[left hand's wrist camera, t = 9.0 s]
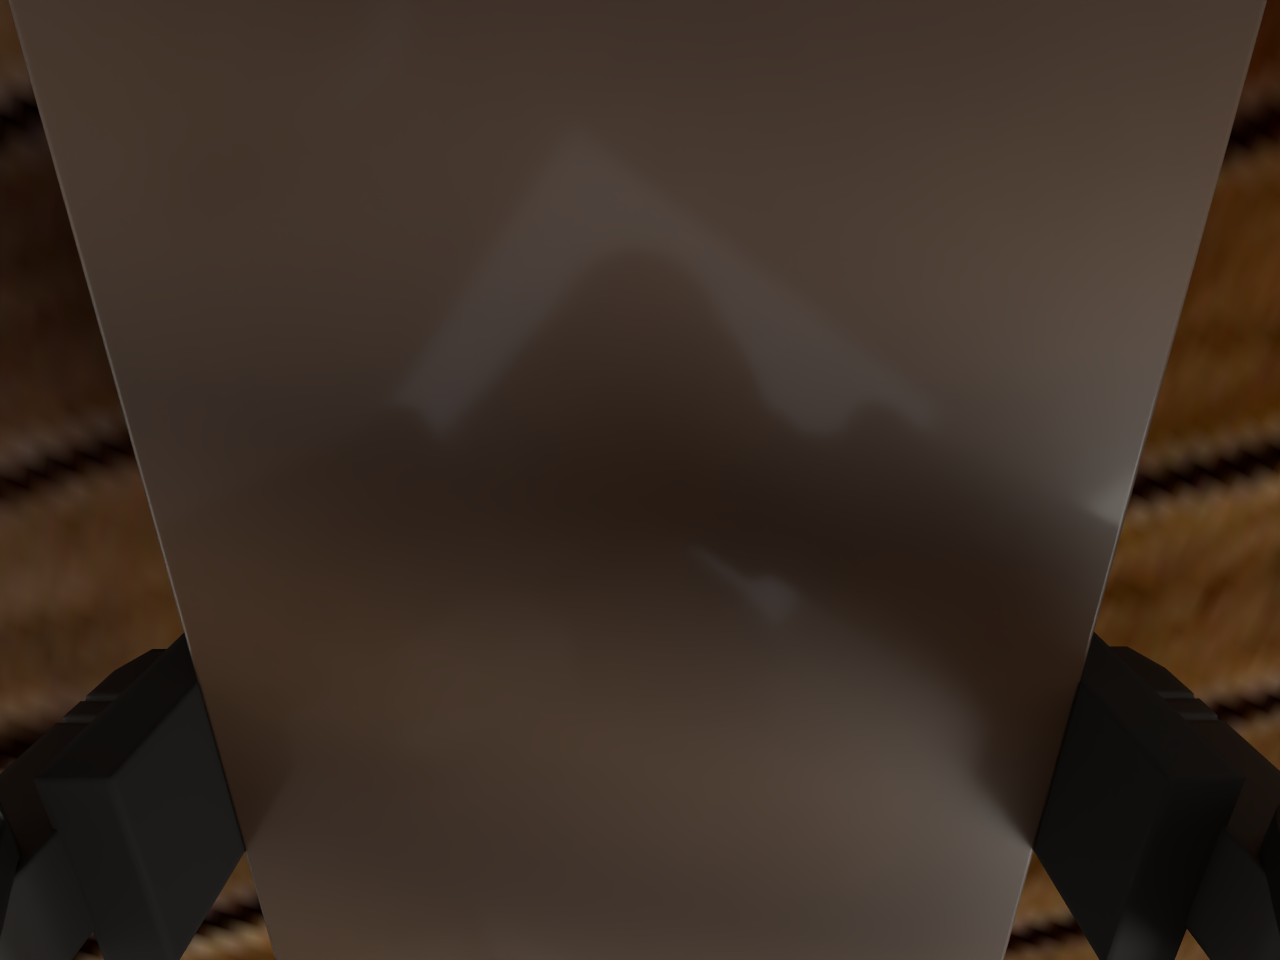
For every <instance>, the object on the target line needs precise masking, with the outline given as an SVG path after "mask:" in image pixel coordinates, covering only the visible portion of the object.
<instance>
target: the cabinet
mask: <svg viewBox="0 0 1280 960" xmlns="http://www.w3.org/2000/svg"><path fill="white" fill-rule="evenodd" d="M8 2H9V6H10V9H11V13H12V17H13V20H14V24H15V27H16V31H17V35H18V38H19V42H20V45H21V49H22V52H23V56H24V60H25V63H26V67H27V70H28V74H29V78H30V81H31V85H32V88H33V92H34V95H35V99H36V103H37V106H38V110H39V113H40V117H41V121H42V124H43V128H44V131H45V135H46V138H47V142H48V146H49V149H50V153H51V156H52V160H53V164H54V167H55V171H56V174H57V178H58V181H59V185H60V189H61V192H62V196H63V199H64V203H65V207H66V210H67V214H68V217H69V221H70V224H71V228H72V232H73V235H74V239H75V242H76V246H77V250H78V253H79V257H80V260H81V264H82V267H83V271H84V275H85V278H86V282H87V285H88V289H89V293H90V296H91V300H92V303H93V307H94V311H95V314H96V318H97V321H98V325H99V328H100V332H101V336H102V339H103V343H104V346H105V350H106V354H107V357H108V361H109V364H110V368H111V371H112V375H113V379H114V382H115V386H116V389H117V393H118V397H119V400H120V404H121V407H122V411H123V414H124V418H125V422H126V425H127V429H128V432H129V436H130V440H131V443H132V447H133V450H134V454H135V457H136V461H137V465H138V468H139V472H140V475H141V479H142V483H143V486H144V490H145V493H146V497H147V500H148V504H149V508H150V511H151V515H152V518H153V522H154V526H155V529H156V533H157V536H158V540H159V544H160V547H161V551H162V554H163V558H164V561H165V565H166V569H167V572H168V576H169V579H170V583H171V587H172V590H173V594H174V597H175V601H176V604H177V608H178V612H179V615H180V619H181V622H182V626H183V630H184V633H185V637H186V640H187V644H188V647H189V651H190V655H191V658H192V662H193V665H194V669H195V673H196V676H197V680H198V683H199V687H200V690H201V694H202V698H203V701H204V705H205V708H206V712H207V716H208V719H209V723H210V726H211V730H212V733H213V737H214V741H215V744H216V748H217V751H218V755H219V759H220V762H221V766H222V769H223V773H224V776H225V780H226V784H227V787H228V791H229V794H230V798H231V802H232V805H233V809H234V812H235V816H236V820H237V823H238V827H239V830H240V834H241V837H242V841H243V845H244V848H245V852H246V855H247V859H248V863H249V866H250V870H251V873H252V877H253V880H254V884H255V888H256V891H257V895H258V898H259V902H260V906H261V909H262V913H263V916H264V920H265V923H266V927H267V931H268V934H269V938H270V941H271V945H272V949H273V952H274V956H275V959H276V960H1004V956H1005V952H1006V949H1007V945H1008V942H1009V938H1010V934H1011V931H1012V927H1013V923H1014V920H1015V916H1016V912H1017V909H1018V905H1019V901H1020V898H1021V894H1022V891H1023V887H1024V883H1025V880H1026V876H1027V872H1028V869H1029V865H1030V861H1031V858H1032V854H1033V850H1034V847H1035V843H1036V840H1037V836H1038V832H1039V829H1040V825H1041V821H1042V818H1043V814H1044V810H1045V807H1046V803H1047V800H1048V796H1049V792H1050V789H1051V785H1052V781H1053V778H1054V774H1055V770H1056V767H1057V763H1058V759H1059V756H1060V752H1061V749H1062V745H1063V741H1064V738H1065V734H1066V730H1067V727H1068V723H1069V719H1070V716H1071V712H1072V708H1073V705H1074V701H1075V698H1076V694H1077V690H1078V687H1079V683H1080V679H1081V676H1082V672H1083V668H1084V665H1085V661H1086V658H1087V654H1088V650H1089V647H1090V643H1091V639H1092V636H1093V632H1094V628H1095V625H1096V621H1097V617H1098V614H1099V610H1100V607H1101V603H1102V599H1103V596H1104V592H1105V588H1106V585H1107V581H1108V577H1109V574H1110V570H1111V566H1112V563H1113V559H1114V556H1115V552H1116V548H1117V545H1118V541H1119V537H1120V534H1121V530H1122V526H1123V523H1124V519H1125V516H1126V512H1127V508H1128V505H1129V501H1130V497H1131V494H1132V490H1133V486H1134V483H1135V479H1136V475H1137V472H1138V468H1139V465H1140V461H1141V457H1142V454H1143V450H1144V446H1145V443H1146V439H1147V435H1148V432H1149V428H1150V424H1151V421H1152V417H1153V414H1154V410H1155V406H1156V403H1157V399H1158V395H1159V392H1160V388H1161V384H1162V381H1163V377H1164V373H1165V370H1166V366H1167V363H1168V359H1169V355H1170V352H1171V348H1172V344H1173V341H1174V337H1175V333H1176V330H1177V326H1178V323H1179V319H1180V315H1181V312H1182V308H1183V304H1184V301H1185V297H1186V293H1187V290H1188V286H1189V282H1190V279H1191V275H1192V272H1193V268H1194V264H1195V261H1196V257H1197V253H1198V250H1199V246H1200V242H1201V239H1202V235H1203V231H1204V228H1205V224H1206V221H1207V217H1208V213H1209V210H1210V206H1211V202H1212V199H1213V195H1214V191H1215V188H1216V184H1217V181H1218V177H1219V173H1220V170H1221V166H1222V162H1223V159H1224V155H1225V151H1226V148H1227V144H1228V140H1229V137H1230V133H1231V130H1232V126H1233V122H1234V119H1235V115H1236V111H1237V108H1238V104H1239V100H1240V97H1241V93H1242V89H1243V86H1244V82H1245V79H1246V75H1247V71H1248V68H1249V64H1250V60H1251V57H1252V53H1253V49H1254V46H1255V42H1256V38H1257V35H1258V31H1259V28H1260V24H1261V20H1262V17H1263V13H1264V9H1265V6H1266V2H1267V0H8Z"/></svg>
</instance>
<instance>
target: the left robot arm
mask: <svg viewBox="0 0 1280 960" xmlns="http://www.w3.org/2000/svg"><path fill="white" fill-rule="evenodd" d="M1193 694H1194V693H1192V692H1191V691H1190V690H1189V689H1188V688H1187V687H1186V686H1185V685H1183V684H1182V683H1181V682H1180V681H1179V680H1178V679H1177V678H1176V677H1175V676H1173V675H1172V674H1171V673H1170V672H1169V671H1168V670H1167V669H1166V668H1164V667H1162V666H1161V665H1159V664H1157V663H1155V662H1154V661H1152V660H1150V659H1148V658H1146V657H1145V656H1143V655H1141V654H1139V653H1138V652H1136V651H1134V650H1132V649H1131V648H1129V647H1109V646H1108V645H1107V644H1106V643H1105V642H1104V641H1103V640H1102V639H1101V638H1100V637H1099V636H1098V635H1097V634H1096V633H1095V632H1093V636H1092V639H1091V643H1090V647H1089V650H1088V654H1087V658H1086V661H1085V665H1084V668H1083V672H1082V676H1081V679H1080V683H1079V687H1078V690H1077V694H1076V698H1075V701H1074V705H1073V708H1072V712H1071V716H1070V719H1069V723H1068V727H1067V730H1066V734H1065V738H1064V741H1063V745H1062V749H1061V752H1060V756H1059V759H1058V763H1057V767H1056V770H1055V774H1054V778H1053V781H1052V785H1051V789H1050V792H1049V796H1048V800H1047V803H1046V807H1045V810H1044V814H1043V818H1042V821H1041V825H1040V829H1039V832H1038V836H1037V840H1036V843H1035V847H1034V852H1035V853H1036V855H1037V857H1038V858H1039V860H1040V862H1041V863H1042V865H1043V867H1044V868H1045V870H1046V872H1047V873H1048V875H1049V877H1050V878H1051V880H1052V882H1053V883H1054V885H1055V887H1056V888H1057V890H1058V891H1059V893H1060V895H1061V896H1062V898H1063V900H1064V901H1065V903H1066V905H1067V906H1068V908H1069V910H1070V911H1071V913H1072V915H1073V916H1074V918H1075V920H1076V921H1077V923H1078V925H1079V926H1080V928H1081V930H1082V931H1083V933H1084V935H1085V936H1086V938H1087V940H1088V941H1089V943H1090V945H1091V946H1092V948H1093V950H1094V951H1095V953H1096V955H1097V956H1098V958H1099V960H1175V957H1176V955H1177V952H1178V950H1179V947H1180V945H1181V942H1182V939H1183V937H1184V934H1185V932H1186V929H1188V930H1189V932H1190V933H1191V934H1192V936H1193V937H1194V938H1195V940H1196V941H1197V943H1198V944H1199V945H1200V947H1201V948H1202V949H1203V951H1204V952H1205V953H1206V955H1207V956H1208V957H1209V959H1210V960H1280V771H1279V770H1278V769H1277V768H1276V767H1275V766H1274V765H1273V764H1271V763H1270V762H1269V761H1268V760H1267V759H1266V758H1265V757H1264V756H1262V755H1261V754H1260V753H1259V752H1258V751H1257V750H1256V749H1255V748H1254V747H1252V746H1251V745H1250V744H1249V743H1248V742H1247V741H1246V740H1245V739H1244V738H1242V737H1241V736H1240V735H1239V734H1238V733H1237V732H1236V731H1235V730H1234V729H1232V728H1231V727H1230V726H1229V725H1228V724H1227V723H1226V722H1225V721H1224V720H1218V718H1217V714H1216V713H1215V712H1214V711H1212V710H1211V709H1210V708H1209V707H1208V706H1207V705H1206V704H1205V703H1204V702H1202V701H1201V700H1200V699H1195V698H1194V696H1193ZM244 852H245V848H244V845H243V841H242V837H241V834H240V830H239V827H238V823H237V820H236V816H235V812H234V809H233V805H232V802H231V798H230V794H229V791H228V787H227V784H226V780H225V776H224V773H223V769H222V766H221V762H220V759H219V755H218V751H217V748H216V744H215V741H214V737H213V733H212V730H211V726H210V723H209V719H208V716H207V712H206V708H205V705H204V701H203V698H202V694H201V690H200V687H199V683H198V680H197V676H196V673H195V669H194V665H193V662H192V658H191V655H190V651H189V647H188V644H187V640H186V637H185V633H183V634H182V635H181V636H180V637H179V638H178V639H177V640H176V641H175V642H174V643H173V644H172V645H171V646H170V647H169V648H168V649H152V650H150V651H148V652H147V653H145V654H143V655H141V656H140V657H138V658H136V659H134V660H133V661H131V662H129V663H127V664H125V665H124V666H122V667H120V668H118V669H117V670H115V671H114V672H113V673H111V674H110V675H109V676H108V677H107V678H106V679H105V680H104V681H103V682H101V683H100V684H99V685H98V686H97V687H96V688H95V689H94V690H93V691H92V692H90V693H89V694H88V695H87V696H86V701H80V702H79V703H78V704H77V705H76V706H75V707H74V708H73V709H72V710H71V711H69V712H68V713H67V714H66V715H65V716H64V717H63V721H62V723H56V724H55V725H54V726H53V727H52V728H51V729H50V730H48V731H47V732H46V733H45V734H44V735H43V736H42V737H41V738H40V739H38V740H37V741H36V742H35V743H34V744H33V745H32V746H31V747H30V748H29V749H27V750H26V751H25V752H24V753H23V754H22V755H21V756H20V757H19V758H17V759H16V760H15V761H14V762H13V763H12V764H11V765H10V766H9V767H8V768H6V769H5V770H4V771H3V772H2V773H1V774H0V960H72V959H73V958H74V956H75V955H76V954H77V952H78V951H79V949H80V948H81V947H82V945H83V944H84V943H85V941H86V940H87V939H88V937H89V936H90V935H91V933H92V932H94V935H95V937H96V940H97V942H98V945H99V947H100V950H101V952H102V955H103V957H104V960H180V958H181V957H182V955H183V953H184V952H185V950H186V948H187V947H188V945H189V943H190V942H191V940H192V938H193V937H194V935H195V933H196V932H197V930H198V928H199V927H200V925H201V923H202V922H203V920H204V918H205V917H206V915H207V913H208V912H209V910H210V908H211V907H212V905H213V903H214V902H215V900H216V898H217V897H218V895H219V893H220V892H221V890H222V888H223V887H224V885H225V883H226V882H227V880H228V878H229V877H230V875H231V873H232V872H233V870H234V868H235V867H236V865H237V863H238V862H239V860H240V859H241V857H242V855H243V854H244Z"/></svg>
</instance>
